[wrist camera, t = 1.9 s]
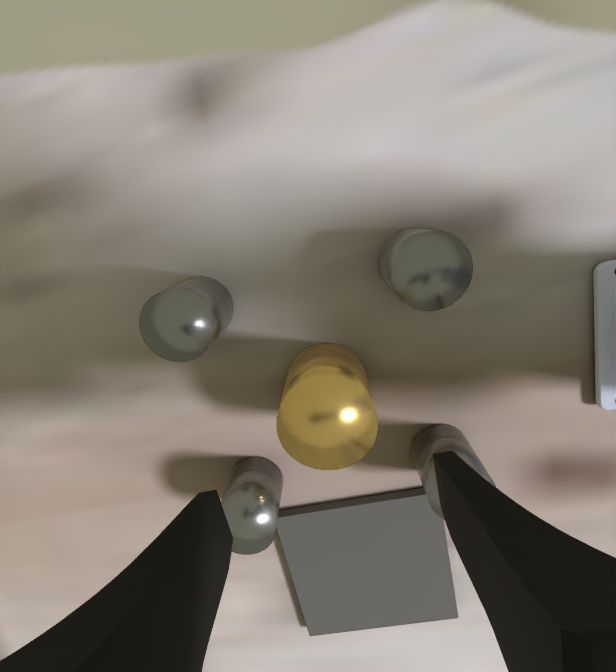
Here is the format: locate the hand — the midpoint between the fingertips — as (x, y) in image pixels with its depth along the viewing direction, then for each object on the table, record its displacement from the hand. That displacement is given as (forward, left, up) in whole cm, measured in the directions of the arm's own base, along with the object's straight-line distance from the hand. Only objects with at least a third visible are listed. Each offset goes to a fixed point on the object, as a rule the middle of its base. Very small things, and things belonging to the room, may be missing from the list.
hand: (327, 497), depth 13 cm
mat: (0, +13, -9) cm, 16 cm away
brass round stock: (0, 0, -10) cm, 10 cm away
